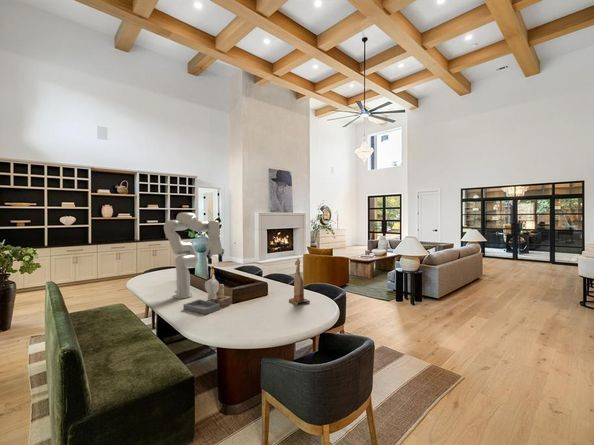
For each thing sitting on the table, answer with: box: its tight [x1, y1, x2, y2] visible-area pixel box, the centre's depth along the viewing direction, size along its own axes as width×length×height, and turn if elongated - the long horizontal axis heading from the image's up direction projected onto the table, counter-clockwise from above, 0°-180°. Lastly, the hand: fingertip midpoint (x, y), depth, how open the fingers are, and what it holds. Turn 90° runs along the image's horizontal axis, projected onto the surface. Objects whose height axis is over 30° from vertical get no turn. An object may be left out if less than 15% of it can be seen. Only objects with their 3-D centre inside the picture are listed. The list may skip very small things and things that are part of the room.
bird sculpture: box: [288, 257, 311, 307], centre depth 206 cm, size 11×12×32 cm
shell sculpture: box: [204, 274, 220, 302], centre depth 213 cm, size 8×8×18 cm
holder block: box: [210, 295, 233, 309], centre depth 201 cm, size 10×10×5 cm
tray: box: [183, 299, 221, 316], centre depth 192 cm, size 20×13×4 cm, turn 59°
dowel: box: [217, 283, 225, 299], centre depth 201 cm, size 4×4×14 cm
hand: (215, 262), depth 203 cm, fingers open, 9 cm apart
